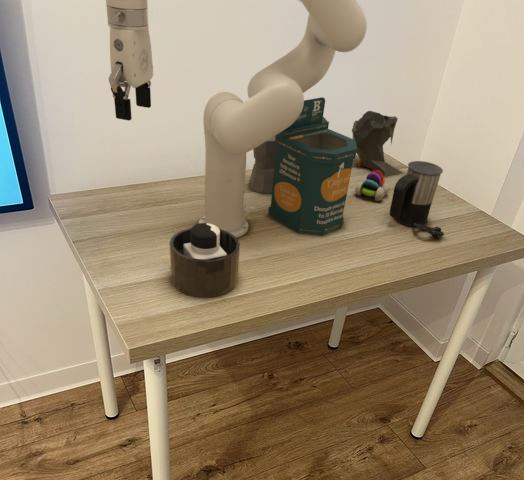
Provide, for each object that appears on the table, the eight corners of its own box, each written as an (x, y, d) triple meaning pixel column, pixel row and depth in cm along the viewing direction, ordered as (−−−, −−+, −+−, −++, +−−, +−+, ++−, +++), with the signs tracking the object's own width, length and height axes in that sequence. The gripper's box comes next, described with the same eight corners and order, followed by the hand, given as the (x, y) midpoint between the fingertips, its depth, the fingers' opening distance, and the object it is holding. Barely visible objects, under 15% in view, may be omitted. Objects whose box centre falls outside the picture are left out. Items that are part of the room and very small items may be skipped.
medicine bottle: (195, 289, 112) (195, 238, 104) (183, 272, 116) (182, 222, 109) (226, 282, 115) (228, 232, 107) (213, 266, 119) (214, 217, 112)
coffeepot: (238, 182, 157) (241, 119, 146) (263, 176, 162) (268, 114, 150) (270, 202, 148) (276, 136, 137) (295, 195, 153) (303, 131, 141)
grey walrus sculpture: (371, 156, 183) (382, 101, 171) (402, 172, 173) (416, 115, 162) (339, 162, 176) (349, 104, 165) (369, 179, 167) (382, 120, 155)
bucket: (209, 256, 124) (209, 220, 118) (251, 283, 116) (253, 247, 110) (158, 276, 116) (156, 239, 110) (199, 306, 108) (199, 268, 102)
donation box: (310, 201, 151) (325, 96, 133) (352, 224, 142) (374, 114, 124) (267, 215, 142) (278, 104, 124) (310, 240, 133) (327, 125, 115)
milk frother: (402, 208, 152) (415, 157, 142) (454, 226, 146) (472, 174, 136) (380, 225, 143) (393, 172, 133) (436, 245, 136) (454, 191, 127)
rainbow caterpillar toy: (390, 194, 159) (396, 171, 154) (377, 205, 152) (383, 180, 148) (364, 186, 162) (369, 163, 157) (351, 196, 156) (356, 172, 151)
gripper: (126, 27, 93) (133, 127, 104) (164, 14, 106) (166, 104, 117) (87, 21, 94) (97, 121, 105) (129, 9, 107) (134, 99, 118)
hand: (134, 112), depth 111 cm, fingers open, 9 cm apart
